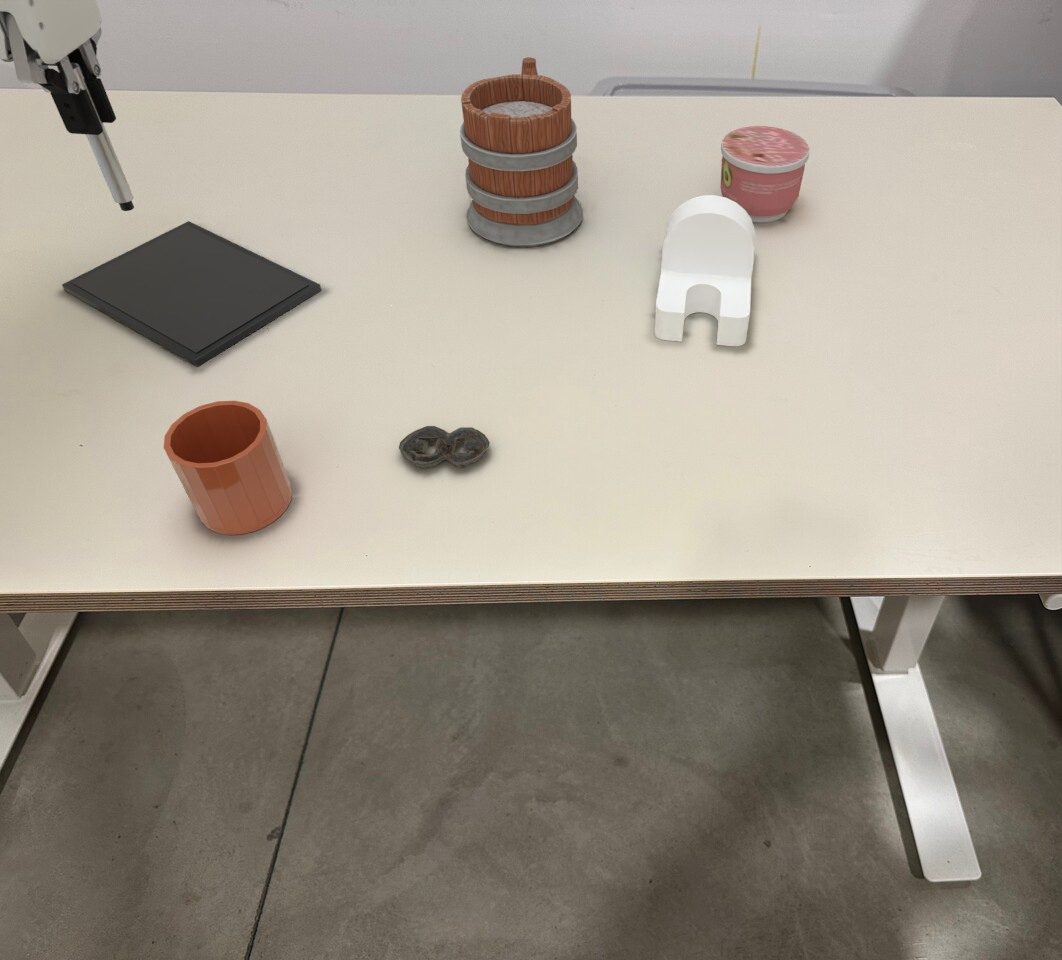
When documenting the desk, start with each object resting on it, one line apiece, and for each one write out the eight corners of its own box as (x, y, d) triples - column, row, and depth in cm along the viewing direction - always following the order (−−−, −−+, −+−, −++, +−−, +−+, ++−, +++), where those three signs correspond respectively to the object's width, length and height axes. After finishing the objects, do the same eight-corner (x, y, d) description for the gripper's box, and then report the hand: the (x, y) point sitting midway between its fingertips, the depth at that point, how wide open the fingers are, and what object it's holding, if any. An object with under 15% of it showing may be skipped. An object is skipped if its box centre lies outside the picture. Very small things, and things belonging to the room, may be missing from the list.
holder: (239, 549, 72) (207, 482, 66) (178, 508, 75) (142, 440, 69) (311, 493, 77) (287, 425, 71) (251, 456, 79) (223, 388, 74)
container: (725, 180, 116) (731, 120, 110) (805, 193, 114) (815, 132, 108) (707, 220, 109) (712, 158, 103) (792, 234, 107) (802, 172, 101)
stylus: (125, 214, 89) (64, 71, 79) (114, 209, 90) (52, 66, 80) (141, 207, 90) (83, 65, 80) (130, 202, 91) (71, 60, 81)
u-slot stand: (653, 339, 93) (657, 248, 85) (668, 245, 105) (673, 158, 97) (745, 347, 92) (758, 256, 84) (749, 252, 104) (761, 165, 97)
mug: (457, 246, 104) (440, 120, 93) (483, 166, 117) (470, 47, 106) (578, 251, 103) (574, 125, 93) (590, 171, 117) (588, 52, 106)
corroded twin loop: (487, 472, 79) (486, 464, 78) (396, 472, 78) (394, 463, 78) (493, 433, 82) (492, 425, 81) (405, 432, 82) (403, 424, 81)
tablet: (197, 367, 88) (194, 359, 87) (64, 290, 96) (60, 283, 95) (321, 290, 97) (319, 283, 96) (190, 226, 105) (188, 220, 104)
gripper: (7, -126, 77) (95, 90, 90) (-113, -74, 66) (7, 163, 79) (92, -122, 76) (168, 94, 90) (-14, -69, 65) (90, 168, 79)
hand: (92, 125), depth 84 cm, fingers closed on stylus, 1 cm apart
